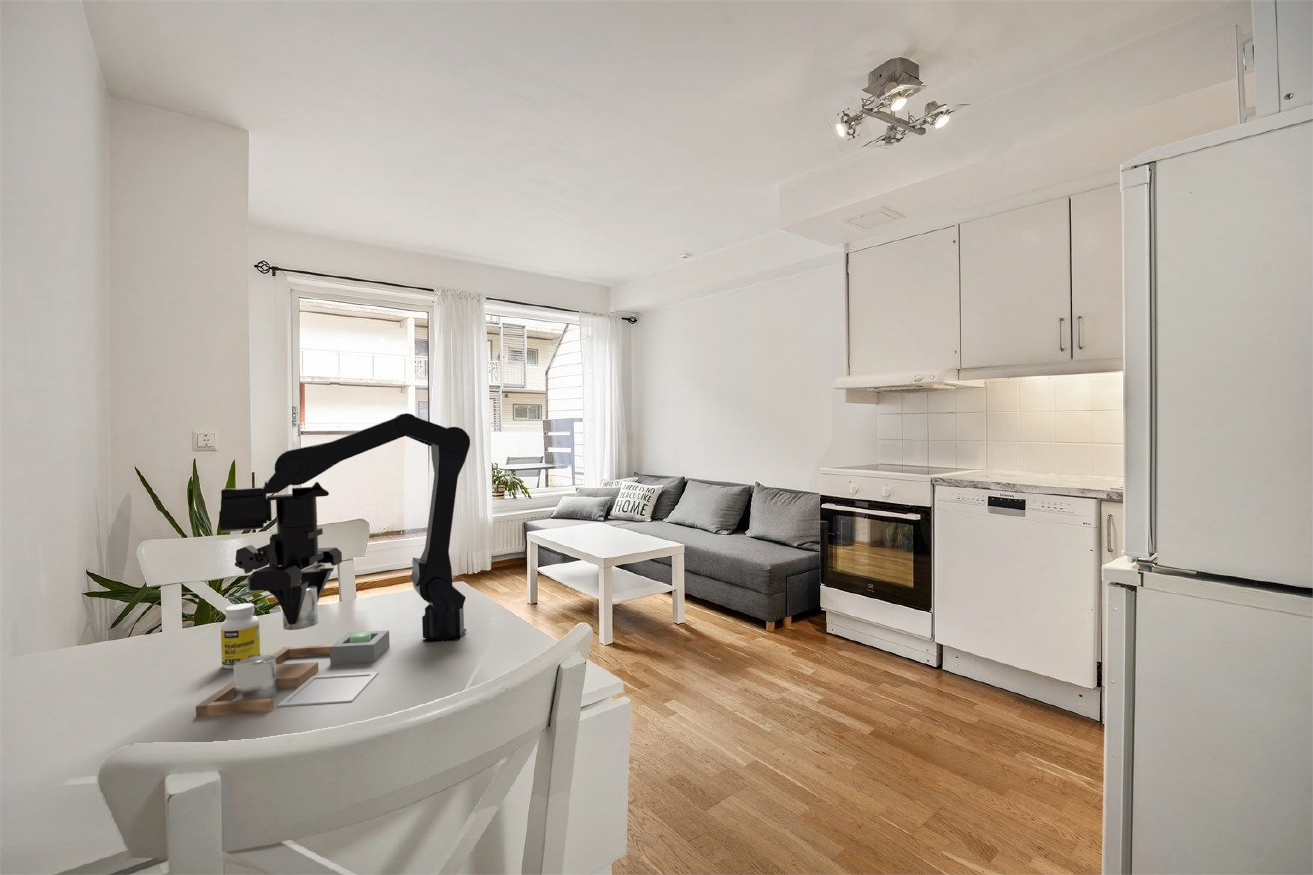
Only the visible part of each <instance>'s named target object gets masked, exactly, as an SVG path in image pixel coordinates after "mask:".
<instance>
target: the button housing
mask: <svg viewBox="0 0 1313 875" xmlns="http://www.w3.org/2000/svg"><path fill="white" fill-rule="evenodd" d="M360 632H361V631H355V632H354V631H352V632H347V633H346V634H344V635H343V636H342V637H340V638H339V639H338V640H337V641H336V642H334V643H332V644H331V645H332V646H330V655H329V661H330V662H329V663H330V665H334V666H335V665H345V664H346V665H348V664H349V665H350V664H364V663H365V664H367V663H375V662H376V661H378V659H379V658H380V657H381V656H382V655H384V653H385V652H386V651H387V650H388V649H389V648H390V630H373V631H372V630H370V631H367V632H370V633H371V641H369V642H362V643H350V636H351V635H353V634H356V633H360Z"/></svg>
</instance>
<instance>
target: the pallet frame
mask: <svg viewBox="0 0 1313 875" xmlns="http://www.w3.org/2000/svg"><path fill="white" fill-rule="evenodd" d="M332 645H333V644H324V645H323V644H320V645H301V646H287V647H286V646H285V647H282V648H280V649H278V650H277V651H275V652H274V653H273V654H271V656H275V662H276V689H290V688H298V687H300V686H301V685H302V684H303V683H304V682H306V681H307V680H308V679H309V678H310V677H312V676H315V675H316V674H317V673H318V672H319V662H317V661H315V662H314V661H312V662H311V661H310V662H297V663H296V662H295V663H284V662H286V660H288V659H289V658H301V657H304V658H305V657H321V656H324V657H325V656H330V646H332ZM232 699H235V694H234V680H233V681H231V682H230V683H228V684H226V685H225V686H223V687H222V688H221V689H219V690H218V691H216V692H215V693H213V694H211V695H210V696H208V697H207V698H205V699H204V700H202V701H201V702H200V703H198V704H197V705H196V706H195V717H196V718H197V717H212V716H214V717H215V716H229V715H231V716H232V715H246V714H260V713H261V714H262V713H270V712H272V711H273V710H274V707H275V706H274V699H273V698H270V699H254V700H238V701H235V700H232Z"/></svg>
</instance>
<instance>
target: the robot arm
mask: <svg viewBox="0 0 1313 875" xmlns="http://www.w3.org/2000/svg"><path fill="white" fill-rule="evenodd" d="M403 437H407V438H410V439H411V440H414V441H416V442H419V443H421V444H424V445H426V446H429V447H430V451H431V463H432V468H433V483H432V490H431V500H430V505H429V507H430V508H429V512H428V523H427V530H426V539H425V546H424V549H423V551H422V554H421V556H420V558H417V557H412V561H411V562H412V570H411V574H410V576H409V580H410V581H411V583H412V587H413V589H414V590H415V591H416V593H417V594H418V595H419V596H420V597H421V598H422V600H423V601H425V602H426V603H428V604H427V606H426V607H424V614H423V615H422V616H421V622H422V628H421V629H422V638H423V641H422V643H424V644H425V643H438V642H439V643H441V642H457V641H460V640H461V638H464V636H465V635H466V633H467V632H466V631H467V628H465V620H464V618H465V615H464V614H465V613H464V612H465V611H464V605H465V601H466V596H465V595H464V594H462V592H460V590H458V589H457V588H456V587H455V586H453V572H452V570H453V569H452V564H451V558H450V552H449V550H450V543H451V537H452V536H451V535H452V527H453V520H454V510H455V504H456V495H457V489H458V488H457V487H458V479H459V475H460V473H461V471H462V468H463V466H464V465H465V463H466V461H467V460H466V459H467V456H468V453H469V450H470V448H471V447H470V446H471V439H470V438H471V437H470V436H469V434H468V433H467V431H466V430H464V429H463V428H461V427H458V426H448V427H447V426H445V427H444V426H442V425H439V424H436V423H434V422H431V421H427V420H424V419H423V418H419V417H417V416H415V415H414V414H412V413H401V414H398V415H396V416H395V417H393V418H391V419H389V420H386V421H383V422H380V423H378V424H375V425H372V426H369V427H367V428H364V429H361V430H359V431H356V432H354V433H351V434H347V435H346V436H343V437H340V438H338V439H335V440H332V441H329V442H323V443H319V444H318V443H317V444H313V445H309V446H303V447H298V448H294V449H289V450H286V451H285V452H282V453H281V454H280V455H279V456H278V457H277V458H276V461H275V462H274V463H275V464H274V473H273V474H272V476H271V477H270V478H269V479H268V480H264V485H263V486H262V487H249V488H248V487H247V488H233V487H232V488H231V487H229V488H228V487H227V488H222V490H220V492H221V493H220V494H221V495H220V497H221V498H220V509H219V511H218V512H219V514H218V515H219V517H218V518H219V528H220V533H228V532H240V531H248V530H250V531H251V530H261V529H264V528H265V524H267V523H268V522H269V523H270V522H272V521H273V519H272V517H273V516H272V513H273V512H272V501H275V504H276V505H275V509H276V510H275V511H276V513H275V514H276V531H277V532H275V533H271V536H269V544H265V545H263V546H261V547H258V548H256V546H254V545H252V544H250V545H247V546H244V547H241V548H238V549H236V551H235V557H234V558H235V562H234V566H235V567H236V568H238V569H242V570H243V572H244V574H245V575H247V574H250V575H249V576H248V577H247V590H248V591H249V592H254V591H265V592H266V591H267V592H269V593H271V594H272V595H274V597H275V598H276V600H277V601H278V603H279V605H280V608H281V610H283V611H282V614H283V613H284V615H285V617H286V619H287V622H288V624H290V625H292V624H296V623H297V621H298V618H299V615H300V611H301V607H302V604H303V600H304V597H305V593H306V590H307V586H308V585H315V586H317V603H319V599H320V598H321V596H322V593H323V591H324V589H325V587H326V584H327V583H328V581H329V579H330V576H331V574H332V572H334V568H333V567H327V568H326V564H330V565H331V566H338V565H339V564H341V563H343V555H342V554H343V553H342V551H341V550H340V549H339V548H338V547H319V536H321V535H324V533H323V532H324V531H323V528H322V527H319V528H318V512H317V510H318V509H317V505H318V504H317V497H318V498H319V497H327V496H330V493H329V491H328V490H327V489H325V488H323V487H322V486H321V484H320V483H319V482H318V481H315V482H314V483H313V485H311V486H306V487H305V486H304V487H293V488H292V487H291V492H292V493H287V494H279V493H280V492H282V491H283V490H284V489H286V488H288V487H289V486H300V485H304V484H306V483H307V482H310V481H311V480H313V479H314V478H316V477H318V476H319V475H321V474H323V473H325V472H326V471H328V470H329V469H331V468H333V467H334V466H335V465H337V464H339V463H341V462H343V461H345V460H347V459H350V458H352V457H353V458H354V457H355V456H358V455H359V454H363V453H366V452H367V451H371V450H373V449H375V448H378V447H380V446H383V445H386V444H388V443H391V442H393V441H396V440H398V439H401V438H403ZM267 494H268V495H267ZM269 494H276V495H269ZM253 570H255V571H253ZM251 572H252V573H251ZM465 632H466V633H465ZM463 635H464V636H463Z"/></svg>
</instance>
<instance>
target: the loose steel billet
mask: <svg viewBox="0 0 1313 875" xmlns="http://www.w3.org/2000/svg"><path fill="white" fill-rule="evenodd" d="M318 603H319V602H317V586H315V585H308V586H307V590H306V593H305V597H304V600H303V604H302V607H301V611H300V615H299V618H298V621H297V623H296V624H292V625H290V624H288V622H287V619H286V617H285V615H284V613H283V610H282V609H281V610H282V628H283V630H286V631H295V630H296V631H298V630H303V629H307V628H310V627H314V626H316V625H318V623H319V608H318Z"/></svg>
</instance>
